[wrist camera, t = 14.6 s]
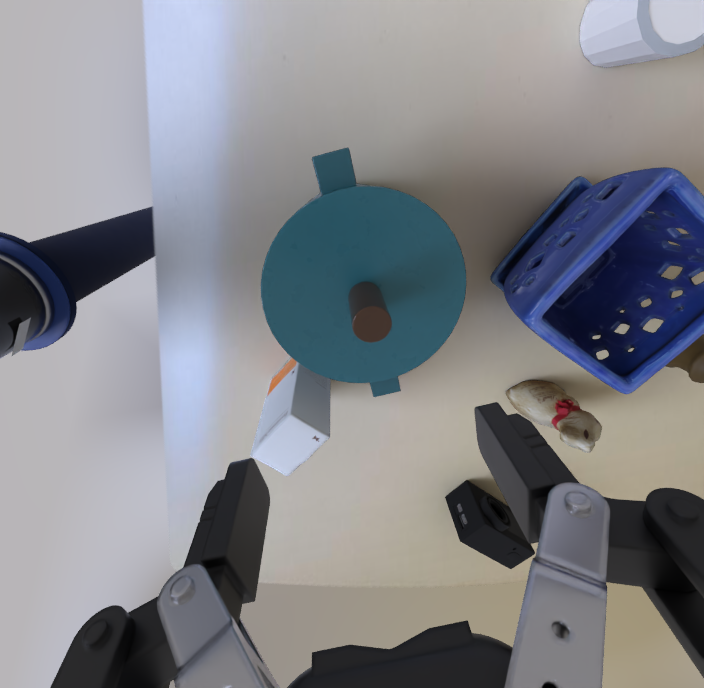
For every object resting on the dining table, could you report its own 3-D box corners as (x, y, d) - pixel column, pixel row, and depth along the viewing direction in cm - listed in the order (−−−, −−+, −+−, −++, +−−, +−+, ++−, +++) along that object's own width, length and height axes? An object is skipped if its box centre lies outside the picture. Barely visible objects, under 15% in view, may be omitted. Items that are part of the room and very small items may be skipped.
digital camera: (519, 504, 54) (544, 549, 48) (491, 524, 56) (511, 570, 50) (473, 474, 51) (493, 519, 44) (444, 496, 52) (460, 542, 46)
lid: (298, 393, 31) (292, 441, 26) (231, 217, 24) (204, 234, 19) (469, 352, 30) (499, 394, 25) (450, 158, 23) (485, 159, 18)
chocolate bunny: (539, 424, 47) (588, 487, 38) (500, 395, 44) (543, 454, 36) (574, 396, 45) (634, 455, 36) (535, 363, 43) (590, 418, 34)
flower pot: (566, 155, 33) (681, 155, 22) (651, 240, 37) (782, 275, 26) (465, 276, 37) (520, 324, 27) (551, 339, 41) (628, 403, 31)
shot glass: (658, -59, 26) (759, -124, 20) (663, 50, 29) (752, 22, 23) (564, -6, 27) (633, -53, 21) (578, 93, 30) (642, 77, 24)
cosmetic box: (301, 343, 40) (291, 412, 29) (331, 364, 41) (332, 437, 31) (268, 379, 42) (248, 457, 31) (298, 399, 43) (288, 479, 32)
